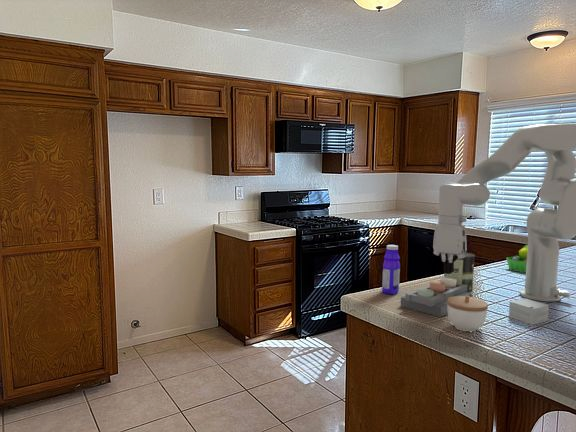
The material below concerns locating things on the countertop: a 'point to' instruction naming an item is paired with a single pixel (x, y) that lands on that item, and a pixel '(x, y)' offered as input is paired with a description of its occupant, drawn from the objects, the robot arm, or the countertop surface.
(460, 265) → the coffee can
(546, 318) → the small box
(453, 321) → the lidded jar
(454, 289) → the grey compartment tray
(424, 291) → the sage button
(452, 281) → the cream button
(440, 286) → the peach rounded dome
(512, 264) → the fruit basket
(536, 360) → the countertop surface
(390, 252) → the bottle
